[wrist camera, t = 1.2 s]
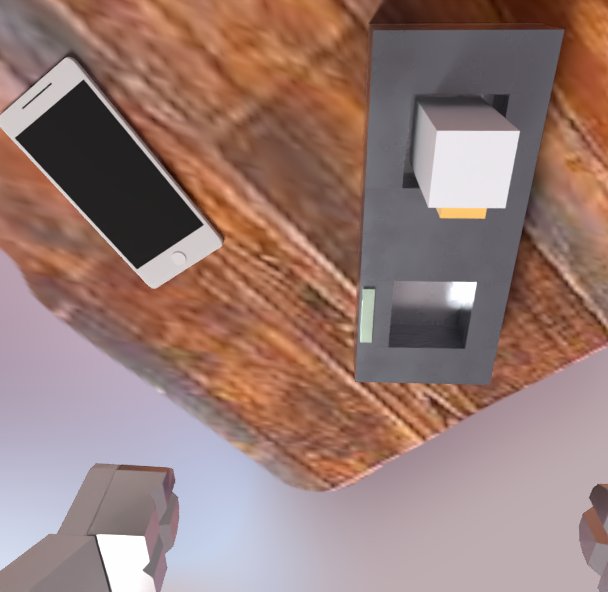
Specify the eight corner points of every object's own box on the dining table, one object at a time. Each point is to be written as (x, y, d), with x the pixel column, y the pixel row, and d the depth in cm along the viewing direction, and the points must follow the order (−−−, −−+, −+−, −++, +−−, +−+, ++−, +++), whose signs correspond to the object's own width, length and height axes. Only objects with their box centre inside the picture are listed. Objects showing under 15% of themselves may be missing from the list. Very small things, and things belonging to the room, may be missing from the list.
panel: (368, 23, 33) (373, 30, 29) (539, 22, 32) (565, 29, 29) (353, 350, 45) (355, 383, 42) (477, 352, 45) (490, 386, 41)
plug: (415, 97, 34) (437, 130, 27) (481, 97, 34) (519, 130, 27) (408, 173, 36) (426, 221, 29) (469, 173, 36) (502, 222, 29)
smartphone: (155, 285, 43) (152, 291, 42) (0, 117, 37) (-8, 120, 36) (226, 239, 41) (224, 245, 40) (74, 52, 35) (67, 54, 34)
